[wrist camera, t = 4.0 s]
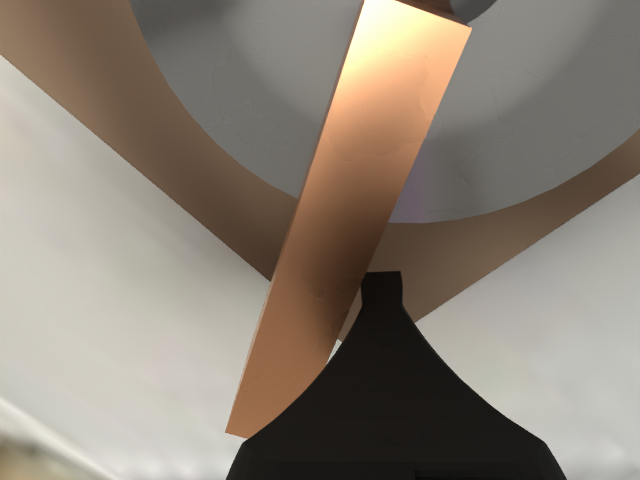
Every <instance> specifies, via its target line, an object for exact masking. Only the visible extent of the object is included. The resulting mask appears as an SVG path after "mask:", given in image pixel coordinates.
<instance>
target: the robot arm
mask: <svg viewBox="0 0 640 480" xmlns="http://www.w3.org/2000/svg"><path fill="white" fill-rule="evenodd" d="M360 287H361V300H362V307H361V309H360V311H359V313H358V316H357V318H356V320H355V322H354V323H353V325H352V327H351V329H350V330H349V332H348V334H347V335H346V337H345V339H344V341H343V342H342V344H341V345H340V347H339V348H338V350H337V351H336V353H335V354H334V356H333V357H332V358H331V360H330V361H329V362H328V364H327V365H326V366H325V368H324V369H323V370H322V371H321V372H320V374H319V375H318V376H317V377H316V378H315V379H314V381H313V382H312V383H311V384H310V385H309V386H308V387H307V388H306V390H305V391H304V392H303V393H302V394H301V395H300V396H299V397H298V398H297V399H295V400H294V401H293V402H292V403H291V404H290V405H289V406H288V407H287V408H286V409H285V410H284V411H283V412H282V413H281V414H280V415H278V416H277V417H276V418H275V419H274V420H273V421H271V422H270V423H269V424H267V425H266V426H265V427H263V428H262V429H261V430H260V431H258V432H257V433H256V434H254V435H253V436H252V437H250V438H249V439H247V440H246V441H245V442H243V443H242V445H241V447H240V449H239V451H238V453H237V455H236V457H235V459H234V461H233V463H232V466H231V468H230V471H229V473H228V475H227V478H226V480H567V479H566V477H565V475H564V473H563V472H562V470H561V468H560V466H559V464H558V462H557V461H556V459H555V458H554V456H553V454H552V453H551V451H550V449H549V448H548V446H547V445H546V443H545V442H544V441H542V440H541V439H539V438H538V437H536V436H535V435H533V434H532V433H530V432H528V431H527V430H525V429H524V428H522V427H521V426H519V425H518V424H516V423H515V422H513V421H511V420H510V419H508V418H507V417H505V416H504V415H503V414H501V413H500V412H499V411H497V410H496V409H495V408H494V407H492V406H491V405H490V404H488V403H487V402H486V401H485V400H484V399H483V398H482V397H481V396H479V395H478V394H477V393H476V392H475V391H474V390H473V389H471V388H470V387H469V386H468V385H467V384H466V383H465V382H463V381H462V380H461V379H460V378H459V377H458V376H457V375H456V374H455V373H454V372H453V370H452V369H451V368H450V367H449V366H448V365H447V364H446V363H445V362H444V361H443V360H442V359H441V358H440V356H439V355H438V354H437V353H436V352H435V350H434V349H433V348H432V347H431V346H430V344H429V343H428V342H427V340H426V339H425V338H424V336H423V335H422V334H421V332H420V331H419V329H418V328H417V327H416V325H415V324H414V322H413V321H412V319H411V317H410V316H409V314H408V312H407V311H406V309H405V308H404V306H403V283H402V276H401V271H383V272H366V274H365V276H364V278H363V281H362V283H361V286H360Z"/></svg>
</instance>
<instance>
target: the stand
mask: <svg viewBox="0 0 640 480" xmlns="http://www.w3.org/2000/svg"><path fill="white" fill-rule="evenodd" d="M0 55H2V56H3V57H4V58H5V59H6V60H8V61H9V62H10V63H11V64H12V65H13V66H15V67H16V68H17V69H18V70H19V71H21V72H22V73H23V74H24V75H25V76H27V77H28V78H29V79H30V80H31V81H32V82H34V83H35V84H36V85H37V86H38V87H40V88H41V89H42V90H43V91H44V92H46V93H47V94H48V95H49V96H50V97H51V98H53V99H54V100H55V101H56V102H57V103H59V104H60V105H61V106H62V107H63V108H65V109H66V110H67V111H68V112H69V113H70V114H72V115H73V116H74V117H75V118H76V119H78V120H79V121H80V122H81V123H82V124H84V125H85V126H86V127H87V128H88V129H89V130H91V131H92V132H93V133H94V134H95V135H97V136H98V137H99V138H100V139H101V140H103V141H104V142H105V143H106V144H107V145H109V146H110V147H111V148H112V149H113V150H114V151H116V152H117V153H118V154H119V155H120V156H122V157H123V158H124V159H125V160H126V161H128V162H129V163H130V164H131V165H132V166H133V167H135V168H136V169H137V170H138V171H139V172H141V173H142V174H143V175H144V176H145V177H147V178H148V179H149V180H150V181H151V182H152V183H154V184H155V185H156V186H157V187H158V188H160V189H161V190H162V191H163V192H164V193H166V194H167V195H168V196H169V197H170V198H171V199H173V200H174V201H175V202H176V203H177V204H179V205H180V206H181V207H182V208H183V209H185V210H186V211H187V212H188V213H189V214H190V215H192V216H193V217H194V218H195V219H196V220H198V221H199V222H200V223H201V224H202V225H204V226H205V227H206V228H207V229H208V230H210V231H211V232H212V233H213V234H214V235H215V236H217V237H218V238H219V239H220V240H221V241H223V242H224V243H225V244H226V245H227V246H229V247H230V248H231V249H232V250H233V251H234V252H236V253H237V254H238V255H239V256H240V257H242V258H243V259H244V260H245V261H246V262H248V263H249V264H250V265H251V266H252V267H253V268H255V269H256V270H257V271H258V272H259V273H261V274H262V275H263V276H264V277H265V278H267V279H268V280H269V281H270V282H271V280H272V277H273V274H274V270H275V267H276V264H277V261H278V258H279V255H280V252H281V249H282V245H283V242H284V239H285V236H286V233H287V230H288V227H289V224H290V220H291V217H292V214H293V211H294V208H295V205H296V202H297V198H295V197H293V196H291V195H289V194H287V193H285V192H283V191H281V190H279V189H277V188H276V187H274V186H272V185H270V184H268V183H267V182H265V181H264V180H262V179H261V178H259V177H258V176H256V175H255V174H254V173H252V172H251V171H249V170H248V169H246V168H245V167H243V166H242V165H241V164H239V163H238V162H237V161H236V160H235V159H234V158H233V157H231V156H230V155H229V154H228V153H227V152H226V151H225V150H223V149H222V148H221V147H220V146H219V145H218V144H217V143H215V142H214V140H213V139H212V138H211V137H210V136H209V135H208V134H207V133H206V132H205V131H204V130H203V128H202V127H201V126H200V125H199V124H198V123H197V122H196V121H195V120H194V119H193V117H192V116H191V115H190V114H189V112H188V111H187V110H186V108H185V107H184V105H183V104H182V103H181V101H180V100H179V99H178V97H177V96H176V94H175V93H174V92H173V90H172V89H171V88H170V86H169V85H168V83H167V81H166V79H165V78H164V76H163V74H162V72H161V70H160V69H159V67H158V65H157V63H156V62H155V60H154V58H153V56H152V55H151V53H150V51H149V49H148V47H147V44H146V42H145V40H144V37H143V35H142V33H141V30H140V28H139V26H138V23H137V21H136V19H135V16H134V14H133V12H132V8H131V5H130V2H129V0H0ZM639 173H640V129H638V130H637V131H636V132H635V133H634V134H633V135H632V136H631V137H629V138H628V139H627V140H626V141H625V142H624V143H623V144H621V145H620V146H619V147H617V148H616V149H614V150H613V151H612V152H610V153H609V154H608V155H606V156H605V157H604V158H602V159H601V160H599V161H598V162H597V163H595V164H594V165H593V166H591V167H590V168H588V169H586V170H584V171H583V172H581V173H579V174H578V175H576V176H574V177H573V178H571V179H569V180H567V181H566V182H564V183H562V184H561V185H559V186H557V187H555V188H553V189H550V190H548V191H546V192H544V193H542V194H539V195H537V196H535V197H533V198H531V199H528V200H526V201H524V202H521V203H518V204H515V205H512V206H509V207H506V208H503V209H500V210H497V211H494V212H491V213H487V214H482V215H477V216H473V217H468V218H463V219H459V220H451V221H441V222H431V223H389V222H388V223H387V225H386V228H385V230H384V232H383V235H382V237H381V239H380V242H379V244H378V246H377V248H376V251H375V253H374V255H373V258H372V260H371V262H370V264H369V267H368V269H367V271H366V272H383V271H401V276H402V283H403V306H404V308H405V309H406V311H407V312H408V314H409V316H410V317H411V319H412V321H413V322H414V323H415V322H417V321H418V320H420V319H421V318H423V317H424V316H426V315H427V314H429V313H430V312H432V311H433V310H435V309H436V308H438V307H439V306H441V305H442V304H444V303H445V302H447V301H448V300H450V299H451V298H453V297H454V296H456V295H457V294H459V293H460V292H462V291H463V290H465V289H466V288H468V287H469V286H471V285H472V284H474V283H475V282H477V281H478V280H480V279H481V278H483V277H484V276H486V275H487V274H489V273H490V272H492V271H493V270H495V269H496V268H498V267H499V266H501V265H502V264H504V263H505V262H507V261H508V260H510V259H511V258H513V257H514V256H516V255H517V254H519V253H520V252H522V251H523V250H525V249H526V248H528V247H529V246H531V245H532V244H534V243H535V242H537V241H539V240H540V239H542V238H543V237H545V236H546V235H548V234H549V233H551V232H552V231H554V230H555V229H557V228H558V227H560V226H561V225H563V224H564V223H566V222H567V221H569V220H570V219H572V218H573V217H575V216H576V215H578V214H579V213H581V212H582V211H584V210H585V209H587V208H588V207H590V206H591V205H593V204H594V203H596V202H597V201H599V200H600V199H602V198H603V197H605V196H606V195H608V194H609V193H611V192H612V191H614V190H615V189H617V188H618V187H620V186H621V185H623V184H624V183H626V182H627V181H629V180H630V179H632V178H633V177H635V176H636V175H638V174H639ZM360 286H361V285H360ZM361 307H362V300H361V287H359V290H358V292H357V294H356V297H355V299H354V301H353V304H352V306H351V308H350V310H349V313H348V315H347V317H346V320H345V322H344V324H343V327H342V329H341V331H340V333H339V336H338V339H339V340H340V341H341V342H343V341H344V339H345V337H346V335H347V334H348V332H349V330H350V329H351V327H352V325H353V323H354V322H355V320H356V318H357V316H358V313H359V311H360V309H361Z"/></svg>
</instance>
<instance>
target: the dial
mask: <svg viewBox="0 0 640 480" xmlns="http://www.w3.org/2000/svg"><path fill="white" fill-rule="evenodd" d="M129 2H130V5H131V8H132V12H133V14H134V16H135V19H136V21H137V23H138V26H139V28H140V30H141V33H142V35H143V37H144V40H145V42H146V44H147V47H148V49H149V51H150V53H151V55H152V56H153V58H154V60H155V62H156V63H157V65H158V67H159V69H160V70H161V72H162V74H163V76H164V78H165V79H166V81H167V83H168V85H169V86H170V88H171V89H172V90H173V92H174V93H175V94H176V96H177V97H178V99H179V100H180V101H181V103H182V104H183V105H184V107H185V108H186V110H187V111H188V112H189V114H190V115H191V116H192V117H193V119H194V120H195V121H196V122H197V123H198V124H199V125H200V126H201V127H202V128H203V130H204V131H205V132H206V133H207V134H208V135H209V136H210V137H211V138H212V139H213V140H214V142H215V143H217V144H218V145H219V146H220V147H221V148H222V149H223V150H225V151H226V152H227V153H228V154H229V155H230V156H231V157H233V158H234V159H235V160H236V161H237V162H238V163H239V164H241V165H242V166H243V167H245V168H246V169H248V170H249V171H251V172H252V173H254V174H255V175H256V176H258V177H259V178H261V179H262V180H264V181H265V182H267V183H268V184H270V185H272V186H274V187H276V188H277V189H279V190H281V191H283V192H285V193H287V194H289V195H291V196H293V197H295V198H297V202H296V205H295V208H294V211H293V214H292V217H291V220H290V224H289V227H288V230H287V233H286V236H285V239H284V242H283V245H282V249H281V252H280V255H279V258H278V261H277V264H276V267H275V270H274V274H273V277H272V280H271V283H270V286H269V289H268V292H267V295H266V299H265V302H264V305H263V308H262V311H261V314H260V317H259V320H258V324H257V327H256V330H255V333H254V336H253V339H252V342H251V345H250V349H249V352H248V355H247V359H246V362H245V366H244V369H243V373H242V376H241V380H240V383H239V386H238V390H237V393H236V397H235V400H234V404H233V407H232V410H231V414H230V417H229V421H228V424H227V428H226V431H225V433H229V434H232V435H236V436H240V437H243V438H247V439H249V438H250V437H252V436H253V435H254V434H256V433H257V432H258V431H260V430H261V429H262V428H263V427H265V426H266V425H267V424H269V423H270V422H271V421H273V420H274V419H275V418H276V417H277V416H278V415H280V414H281V413H282V412H283V411H284V410H285V409H286V408H287V407H288V406H289V405H290V404H291V403H292V402H293V401H294V400H295V399H297V398H298V397H299V396H300V395H301V394H302V393H303V392H304V391H305V390H306V388H307V387H308V386H309V385H310V384H311V383H312V382H313V381H314V379H315V378H316V377H317V376H318V375H319V374H320V372H321V371H322V370H323V369H324V368H325V366H326V363H327V361H328V359H329V356H330V354H331V352H332V350H333V347H334V345H335V343H336V340H337V338H338V336H339V333H340V331H341V329H342V327H343V324H344V322H345V320H346V317H347V315H348V313H349V310H350V308H351V306H352V304H353V301H354V299H355V297H356V294H357V292H358V290H359V287H360V285H361V283H362V281H363V278H364V276H365V274H366V271H367V269H368V267H369V264H370V262H371V260H372V258H373V255H374V253H375V251H376V248H377V246H378V244H379V242H380V239H381V237H382V235H383V232H384V230H385V228H386V225H387V223H388V222H389V223H431V222H441V221H451V220H459V219H463V218H468V217H473V216H477V215H482V214H487V213H491V212H494V211H497V210H500V209H503V208H506V207H509V206H512V205H515V204H518V203H521V202H524V201H526V200H528V199H531V198H533V197H535V196H537V195H539V194H542V193H544V192H546V191H548V190H550V189H553V188H555V187H557V186H559V185H561V184H562V183H564V182H566V181H567V180H569V179H571V178H573V177H574V176H576V175H578V174H579V173H581V172H583V171H584V170H586V169H588V168H590V167H591V166H593V165H594V164H595V163H597V162H598V161H599V160H601V159H602V158H604V157H605V156H606V155H608V154H609V153H610V152H612V151H613V150H614V149H616V148H617V147H619V146H620V145H621V144H623V143H624V142H625V141H626V140H627V139H628V138H629V137H631V136H632V135H633V134H634V133H635V132H636V131H637V130H638V129H640V0H129Z"/></svg>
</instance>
